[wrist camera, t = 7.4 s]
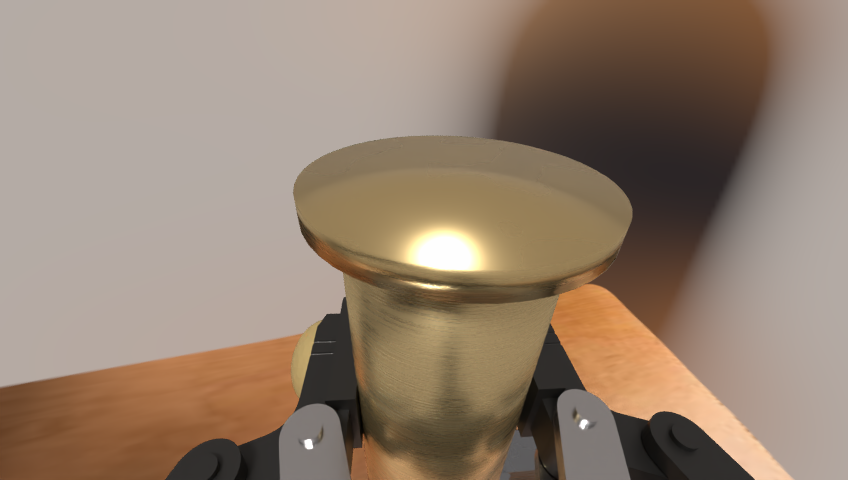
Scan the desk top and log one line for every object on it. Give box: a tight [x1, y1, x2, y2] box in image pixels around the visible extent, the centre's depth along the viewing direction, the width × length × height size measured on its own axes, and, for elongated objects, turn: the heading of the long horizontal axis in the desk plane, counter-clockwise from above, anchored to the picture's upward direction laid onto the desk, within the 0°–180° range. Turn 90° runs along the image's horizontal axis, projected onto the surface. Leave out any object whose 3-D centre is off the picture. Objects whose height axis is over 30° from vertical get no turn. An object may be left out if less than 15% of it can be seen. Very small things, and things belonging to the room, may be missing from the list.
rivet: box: [293, 136, 632, 480], centre depth 10 cm, size 6×6×14 cm
